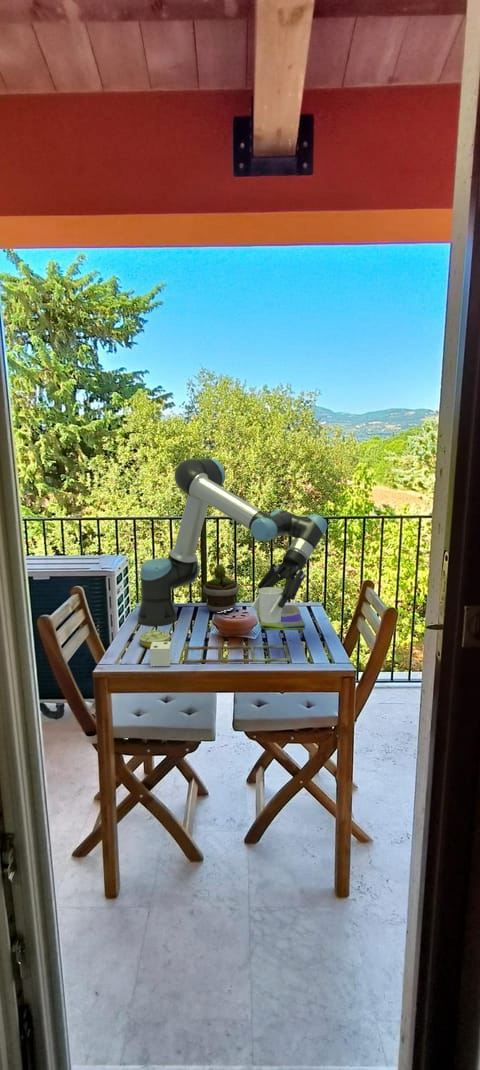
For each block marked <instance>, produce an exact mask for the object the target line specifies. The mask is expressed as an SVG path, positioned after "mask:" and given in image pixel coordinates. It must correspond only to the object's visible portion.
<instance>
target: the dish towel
mask: <svg viewBox="0 0 480 1070" xmlns="http://www.w3.org/2000/svg"><path fill="white" fill-rule="evenodd" d="M256 612H257V618H258V617H259V619H258V621H259V625H261V626H260V627H261V629H263V630H267V631H304V630H305V626H306V624H305V622H304V620H303V617H302V615H301V614H302V613H301V610H300V608H299V607H298V606H297V605H295V604H288V605H286V604H285V605H284V607H283V608H282V612H281V621H280V622H277V623H265V622H262V621H261V620H260V610H259V609H258V610H257V611H256Z"/></svg>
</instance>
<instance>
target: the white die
mask: <svg viewBox="0 0 480 1070" xmlns="http://www.w3.org/2000/svg"><path fill="white" fill-rule="evenodd" d="M149 660H150V661H149V662H150V664H149V665H150V666H149V667H150V668H155V667H154V666H170V667H171V664H170V663H172V660H173V659H172V641H169V642H152V644H151V647H150V648H149ZM152 666H153V667H152Z"/></svg>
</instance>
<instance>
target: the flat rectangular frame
mask: <svg viewBox="0 0 480 1070" xmlns="http://www.w3.org/2000/svg"><path fill="white" fill-rule="evenodd" d="M237 649H238V650H244V649H247V650H248V649H249V650H250V651H251V658H227V659H226V658H222V650H237ZM257 649H258V650H259V649H261V650H263V649H283V651H284V654H285V657H286V658H285V657H282V658H277V657H276V658H257V657H256V652H255V650H257ZM190 650H217V651H218V652H217V655H218V656H217V658H218V659H213V658H212V659H210V658H209V659H188V656H189V651H190ZM183 655H184V656H183V660H182V661H183V663H184V664H194V663H196V664H197V663H198V664H199V663H200V664H201V663H203V664H205V663H210V664H211V663H262V662H263V663H264V662H265V663H266V662H268V663H271V662H272V663H275V662H276V663H277V662H279V663H281V662H291V656H290V654H289V651H288V648H287V645H286V644H285V645H284V644H283V645H236V646H235V645H226V646H225V645H222V646H221V645H218V646H215V645H214V646H212V645H211V646H209V645H208V646H205V645H204V646H185V650H184V654H183Z"/></svg>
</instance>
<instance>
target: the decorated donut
mask: <svg viewBox="0 0 480 1070" xmlns="http://www.w3.org/2000/svg"><path fill="white" fill-rule="evenodd" d="M138 638H139V639H138V640H139V643H140V645H141V646H142V647H143V648H148V649H150V647H151V644H152V642H170V640H171V635H170V633H168V632H166V631H163V630H155V629H154V630H147V631H145V632H143V633H142V634H140V635H139V637H138Z"/></svg>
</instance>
